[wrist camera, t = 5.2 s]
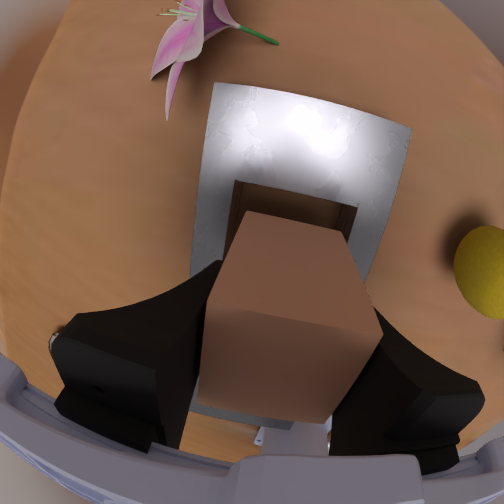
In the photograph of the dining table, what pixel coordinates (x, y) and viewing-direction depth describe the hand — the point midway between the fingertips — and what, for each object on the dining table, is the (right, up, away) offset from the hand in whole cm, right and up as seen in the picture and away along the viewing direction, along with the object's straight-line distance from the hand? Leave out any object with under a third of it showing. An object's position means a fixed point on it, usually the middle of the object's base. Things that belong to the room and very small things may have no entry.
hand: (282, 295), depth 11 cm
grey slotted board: (0, -1, +9) cm, 9 cm away
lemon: (+15, +2, +6) cm, 16 cm away
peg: (0, +1, +2) cm, 3 cm away
